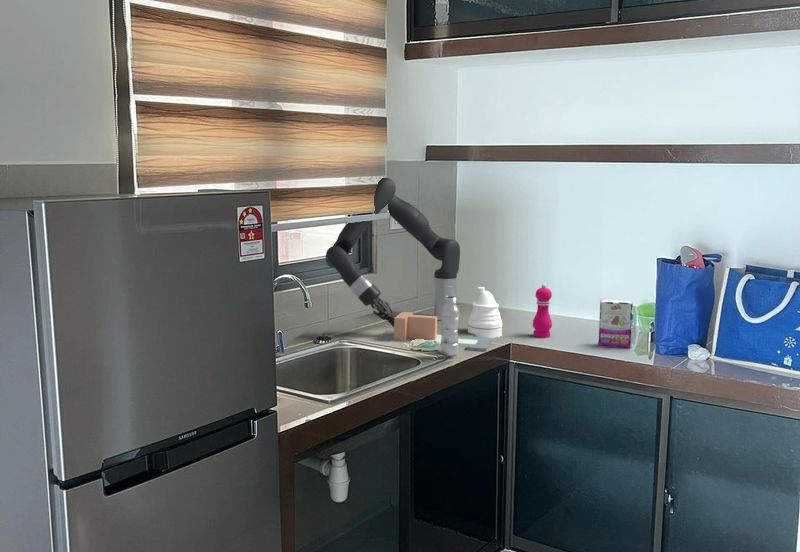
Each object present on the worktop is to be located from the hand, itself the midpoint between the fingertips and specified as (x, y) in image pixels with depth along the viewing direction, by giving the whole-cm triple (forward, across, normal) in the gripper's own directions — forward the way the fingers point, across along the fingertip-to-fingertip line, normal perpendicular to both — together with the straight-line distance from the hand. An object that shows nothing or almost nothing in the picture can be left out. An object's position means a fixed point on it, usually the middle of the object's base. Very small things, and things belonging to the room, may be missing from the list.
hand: (396, 325), depth 279 cm
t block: (+8, 0, -3) cm, 9 cm away
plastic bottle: (+20, -19, -13) cm, 30 cm away
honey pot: (+25, +18, -18) cm, 35 cm away
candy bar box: (+58, +14, -51) cm, 78 cm away
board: (+13, 0, -6) cm, 15 cm away
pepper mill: (+39, +22, -32) cm, 56 cm away
